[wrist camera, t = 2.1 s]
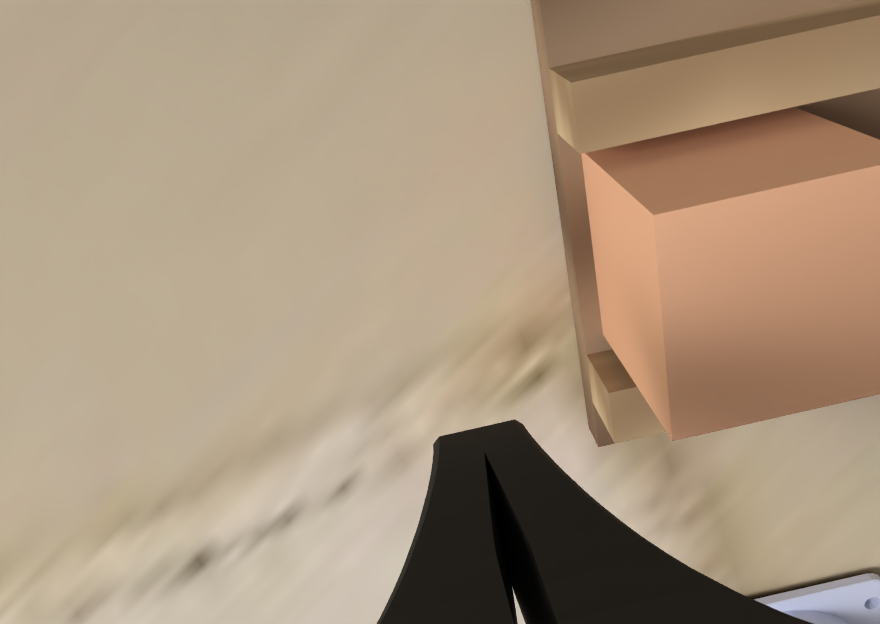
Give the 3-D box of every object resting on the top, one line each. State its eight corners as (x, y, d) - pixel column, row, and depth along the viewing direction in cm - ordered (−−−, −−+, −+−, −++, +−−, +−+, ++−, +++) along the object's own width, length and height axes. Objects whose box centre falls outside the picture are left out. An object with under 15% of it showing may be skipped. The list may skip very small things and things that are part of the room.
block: (788, 292, 22) (906, 388, 17) (603, 334, 21) (672, 441, 17) (786, 103, 19) (921, 156, 15) (580, 149, 19) (653, 215, 15)
